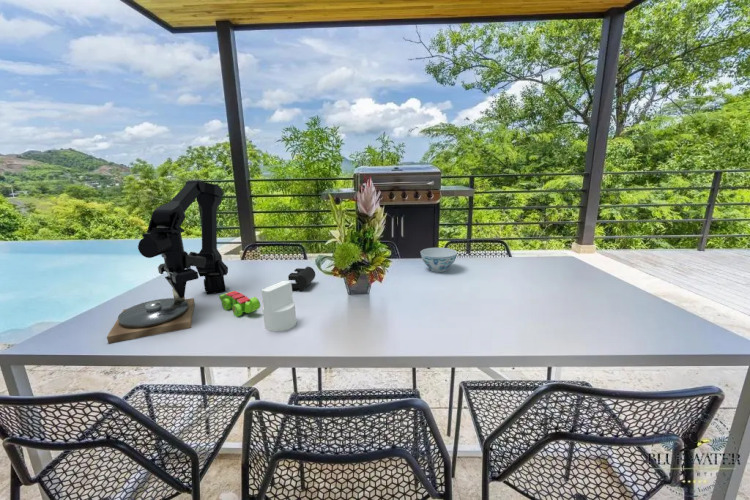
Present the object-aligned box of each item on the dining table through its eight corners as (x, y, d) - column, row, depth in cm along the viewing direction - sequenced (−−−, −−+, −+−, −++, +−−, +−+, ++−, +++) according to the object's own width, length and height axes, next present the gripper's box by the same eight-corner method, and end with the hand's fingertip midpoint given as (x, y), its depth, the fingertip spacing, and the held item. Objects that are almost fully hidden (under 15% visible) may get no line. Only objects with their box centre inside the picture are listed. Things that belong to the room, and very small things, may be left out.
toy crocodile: (216, 305, 118) (213, 288, 117) (235, 299, 123) (233, 282, 122) (244, 322, 105) (242, 303, 104) (264, 314, 110) (262, 296, 108)
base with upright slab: (280, 334, 97) (275, 293, 94) (258, 327, 101) (253, 288, 98) (302, 321, 104) (299, 283, 101) (281, 315, 109) (277, 278, 106)
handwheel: (169, 298, 119) (166, 283, 118) (201, 308, 110) (199, 291, 109) (107, 319, 104) (103, 302, 102) (139, 333, 95) (134, 314, 93)
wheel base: (194, 303, 120) (193, 297, 119) (191, 327, 102) (190, 320, 102) (124, 315, 112) (123, 308, 112) (108, 343, 95) (106, 336, 94)
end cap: (307, 292, 127) (306, 274, 126) (289, 291, 128) (287, 274, 127) (316, 282, 137) (315, 266, 135) (298, 282, 138) (297, 266, 136)
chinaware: (460, 274, 141) (460, 256, 139) (422, 275, 141) (422, 257, 139) (452, 264, 155) (453, 247, 153) (418, 264, 156) (418, 248, 154)
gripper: (212, 248, 106) (219, 296, 110) (190, 241, 119) (198, 285, 123) (171, 255, 98) (181, 307, 102) (153, 247, 111) (162, 294, 115)
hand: (182, 297), depth 111 cm, fingers closed
